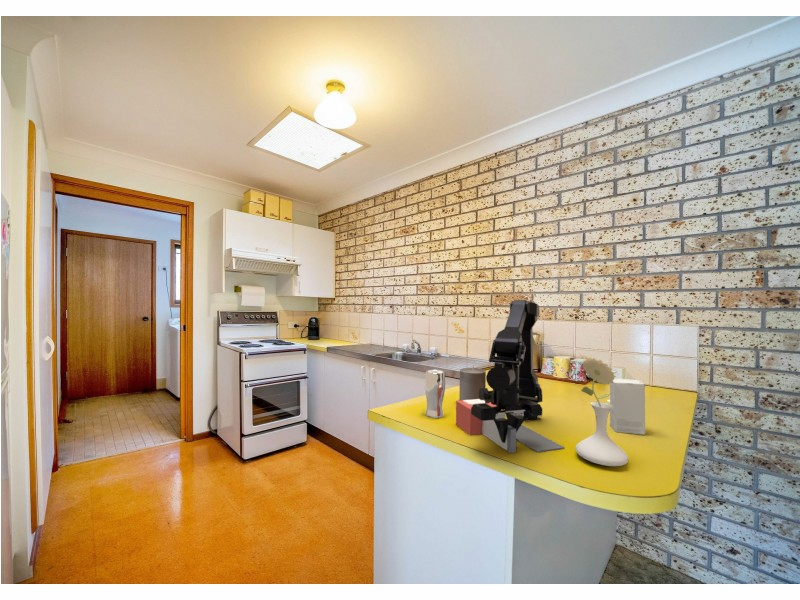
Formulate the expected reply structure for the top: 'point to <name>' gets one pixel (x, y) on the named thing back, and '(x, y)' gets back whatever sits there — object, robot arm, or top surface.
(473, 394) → the pillar candle
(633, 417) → the skincare box
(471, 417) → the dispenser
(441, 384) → the beer glass
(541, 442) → the mat
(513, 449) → the grey rectangular bar
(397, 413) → the top surface
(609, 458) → the flower in vase
